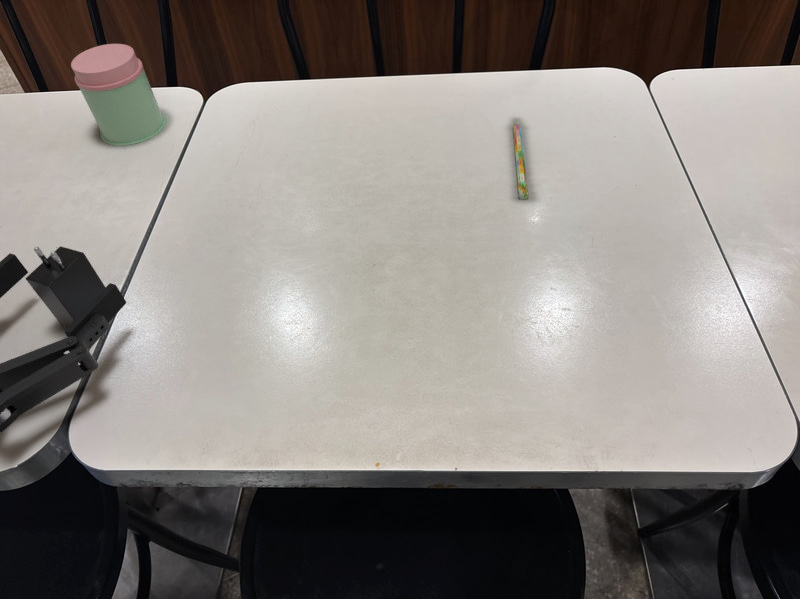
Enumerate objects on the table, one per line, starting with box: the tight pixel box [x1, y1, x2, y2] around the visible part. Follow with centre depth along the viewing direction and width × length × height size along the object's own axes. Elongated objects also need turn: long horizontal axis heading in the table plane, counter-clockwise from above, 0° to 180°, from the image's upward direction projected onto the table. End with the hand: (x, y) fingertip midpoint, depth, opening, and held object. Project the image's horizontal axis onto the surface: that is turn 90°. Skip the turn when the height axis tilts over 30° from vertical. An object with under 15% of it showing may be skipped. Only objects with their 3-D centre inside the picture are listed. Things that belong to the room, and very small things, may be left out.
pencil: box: [512, 118, 530, 201], centre depth 80 cm, size 1×1×18 cm
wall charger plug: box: [25, 245, 107, 329], centre depth 62 cm, size 3×5×10 cm, turn 158°
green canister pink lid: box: [70, 43, 168, 147], centre depth 87 cm, size 10×10×12 cm
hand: (67, 277), depth 62 cm, fingers open, 13 cm apart
